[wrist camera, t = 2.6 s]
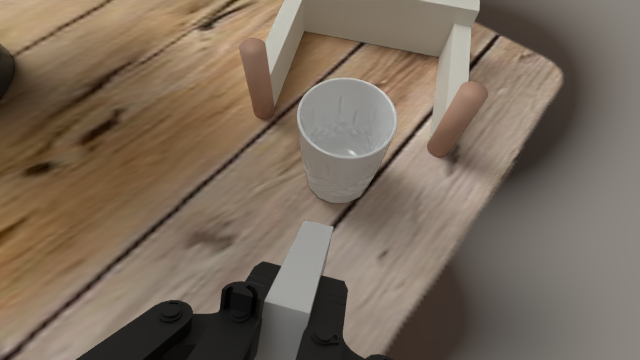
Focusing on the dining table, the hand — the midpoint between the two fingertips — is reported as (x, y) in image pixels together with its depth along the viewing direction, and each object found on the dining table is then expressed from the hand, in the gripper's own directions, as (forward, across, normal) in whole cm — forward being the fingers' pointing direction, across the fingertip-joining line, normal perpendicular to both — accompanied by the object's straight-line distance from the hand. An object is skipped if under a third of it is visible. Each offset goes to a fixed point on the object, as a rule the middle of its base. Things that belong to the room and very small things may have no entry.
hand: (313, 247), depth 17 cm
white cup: (+19, 0, -2) cm, 19 cm away
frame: (+28, 0, +8) cm, 29 cm away
